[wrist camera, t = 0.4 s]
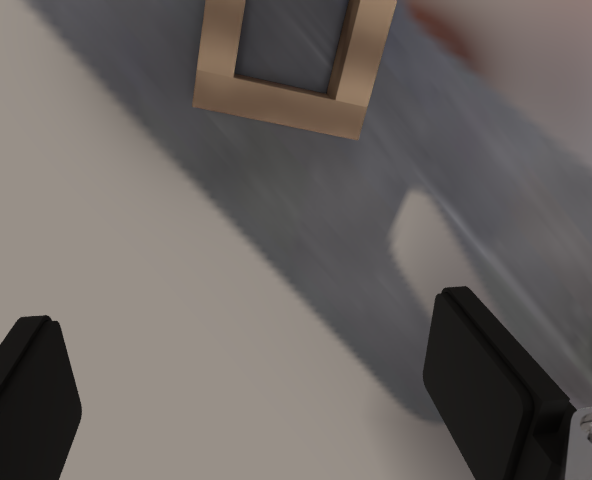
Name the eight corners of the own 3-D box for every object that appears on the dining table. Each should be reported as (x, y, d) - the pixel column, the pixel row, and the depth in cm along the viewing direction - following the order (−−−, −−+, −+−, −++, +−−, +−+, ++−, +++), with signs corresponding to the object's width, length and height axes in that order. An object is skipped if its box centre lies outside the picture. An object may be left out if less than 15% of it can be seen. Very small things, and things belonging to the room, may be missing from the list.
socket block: (219, -92, 31) (219, -105, 28) (393, -40, 34) (410, -47, 31) (195, 99, 36) (192, 106, 33) (347, 130, 39) (358, 140, 36)
